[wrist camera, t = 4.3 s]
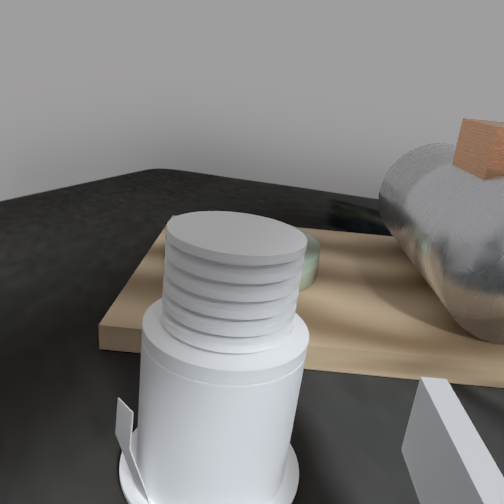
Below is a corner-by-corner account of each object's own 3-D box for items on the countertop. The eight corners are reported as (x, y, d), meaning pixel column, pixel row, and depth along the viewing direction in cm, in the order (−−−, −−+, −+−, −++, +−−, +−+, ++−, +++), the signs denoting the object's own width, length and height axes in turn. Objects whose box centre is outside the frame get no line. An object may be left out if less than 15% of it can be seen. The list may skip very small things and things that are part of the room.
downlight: (180, 607, 14) (211, 298, 10) (73, 461, 18) (71, 213, 15) (339, 475, 19) (394, 246, 16) (227, 388, 24) (250, 196, 20)
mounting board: (172, 230, 44) (173, 194, 43) (458, 258, 44) (467, 222, 42) (99, 349, 25) (97, 291, 24) (597, 397, 25) (621, 341, 24)
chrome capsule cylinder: (366, 235, 43) (391, 105, 39) (464, 245, 43) (499, 115, 38) (425, 337, 26) (479, 130, 22) (583, 352, 26) (667, 148, 22)
